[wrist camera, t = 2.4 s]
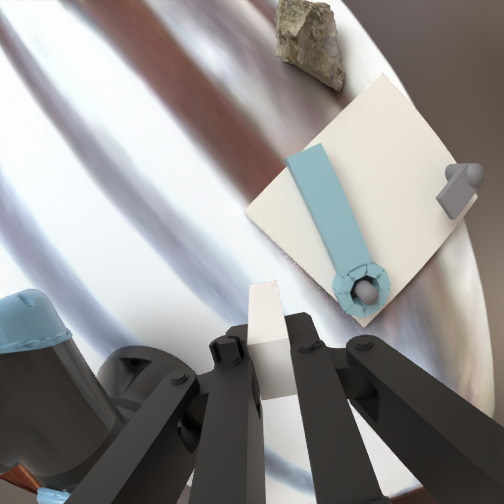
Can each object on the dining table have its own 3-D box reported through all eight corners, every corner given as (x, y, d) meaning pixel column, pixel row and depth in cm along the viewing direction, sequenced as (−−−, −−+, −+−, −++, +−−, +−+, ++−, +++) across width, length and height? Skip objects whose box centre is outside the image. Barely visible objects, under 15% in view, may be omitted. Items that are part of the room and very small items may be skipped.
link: (386, 292, 32) (395, 300, 29) (343, 315, 32) (349, 325, 30) (324, 141, 28) (330, 138, 26) (274, 164, 29) (276, 163, 26)
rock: (352, 91, 27) (297, 60, 20) (305, 97, 31) (243, 75, 24) (344, 8, 25) (291, -35, 18) (302, 19, 29) (244, -14, 22)
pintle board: (360, 323, 34) (378, 347, 28) (243, 211, 31) (241, 218, 25) (472, 196, 31) (502, 200, 25) (378, 75, 28) (401, 58, 22)
